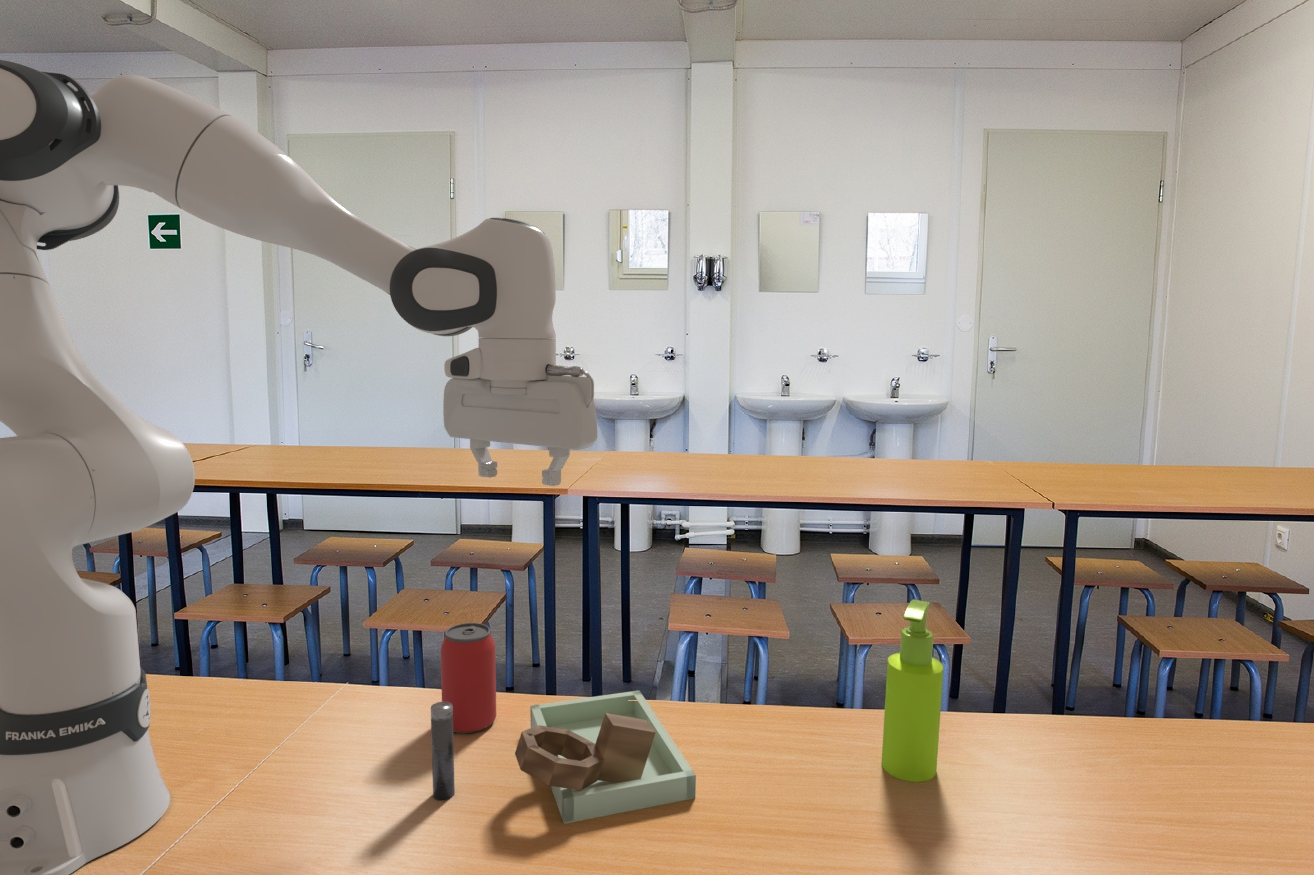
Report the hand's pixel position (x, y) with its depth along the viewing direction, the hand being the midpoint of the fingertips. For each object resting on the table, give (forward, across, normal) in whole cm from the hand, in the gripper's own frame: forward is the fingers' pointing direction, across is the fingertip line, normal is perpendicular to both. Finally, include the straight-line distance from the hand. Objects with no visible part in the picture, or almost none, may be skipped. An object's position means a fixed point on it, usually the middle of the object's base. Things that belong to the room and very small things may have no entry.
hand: (519, 480), depth 92 cm
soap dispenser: (+31, -44, -13) cm, 56 cm away
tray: (+31, -13, +2) cm, 34 cm away
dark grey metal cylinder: (+31, -2, +16) cm, 35 cm away
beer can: (+31, +6, +2) cm, 32 cm away
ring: (+28, -12, +10) cm, 32 cm away
